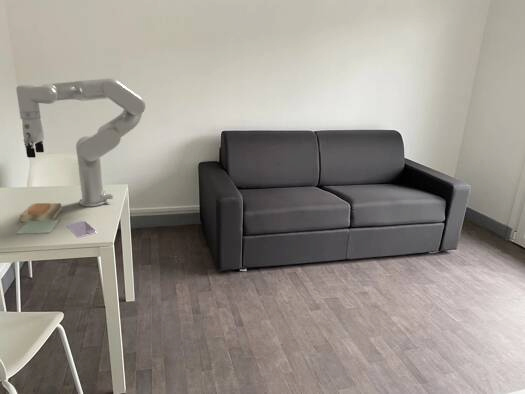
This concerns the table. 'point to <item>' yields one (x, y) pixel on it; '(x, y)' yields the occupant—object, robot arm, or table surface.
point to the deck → (49, 215)
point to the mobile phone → (81, 229)
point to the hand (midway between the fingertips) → (35, 154)
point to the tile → (39, 209)
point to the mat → (38, 227)
